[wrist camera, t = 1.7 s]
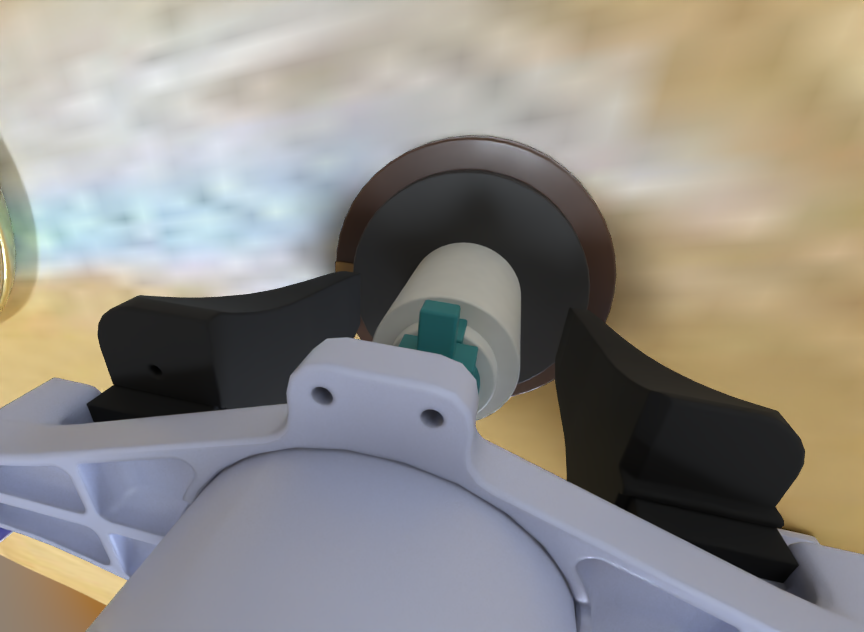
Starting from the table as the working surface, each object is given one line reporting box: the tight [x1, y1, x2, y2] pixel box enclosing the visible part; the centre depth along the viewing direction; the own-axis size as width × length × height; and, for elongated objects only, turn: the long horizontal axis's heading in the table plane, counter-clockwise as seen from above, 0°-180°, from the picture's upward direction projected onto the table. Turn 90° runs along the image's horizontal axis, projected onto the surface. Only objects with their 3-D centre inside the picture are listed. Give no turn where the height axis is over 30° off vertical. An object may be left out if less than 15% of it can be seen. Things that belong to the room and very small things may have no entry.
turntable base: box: [335, 136, 616, 396], centre depth 17 cm, size 11×11×1 cm
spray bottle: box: [353, 169, 590, 420], centre depth 13 cm, size 9×9×8 cm
